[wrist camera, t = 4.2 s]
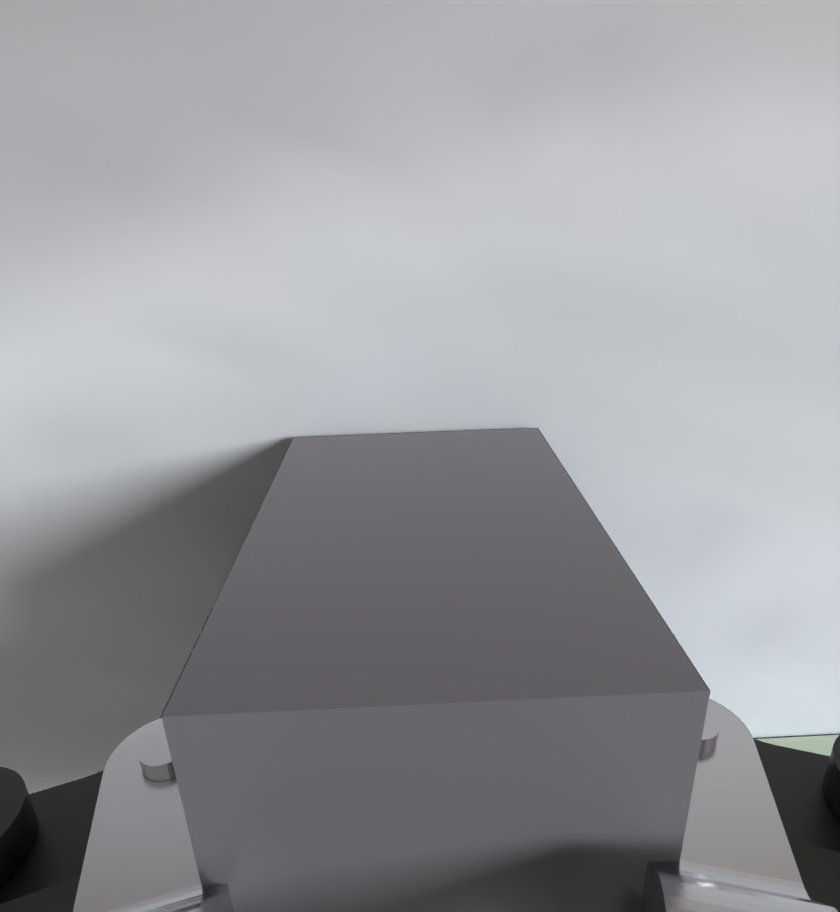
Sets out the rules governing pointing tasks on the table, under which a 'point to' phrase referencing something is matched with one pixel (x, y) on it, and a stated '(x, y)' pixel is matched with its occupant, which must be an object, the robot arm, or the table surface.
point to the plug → (433, 691)
